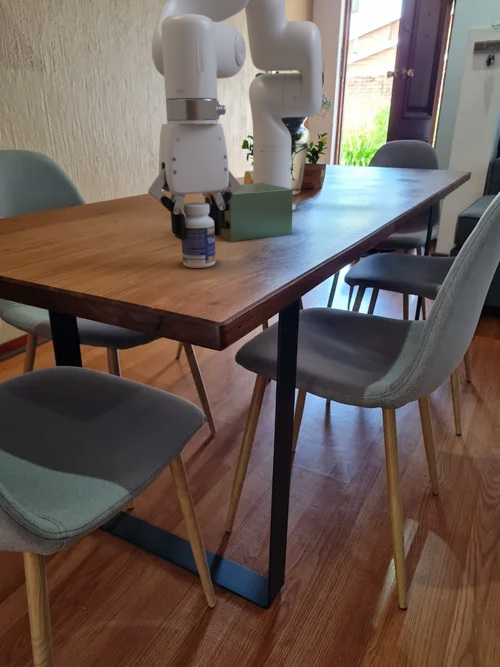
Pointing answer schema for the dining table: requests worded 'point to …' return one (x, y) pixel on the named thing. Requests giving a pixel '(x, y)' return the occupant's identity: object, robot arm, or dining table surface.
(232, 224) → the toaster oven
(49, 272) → the dining table surface
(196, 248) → the pill bottle
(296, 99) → the robot arm
